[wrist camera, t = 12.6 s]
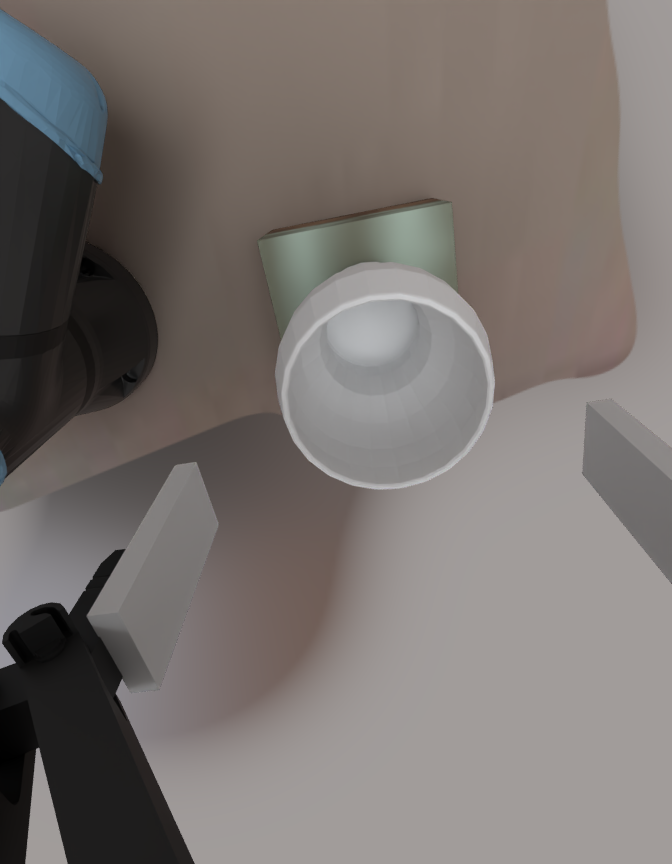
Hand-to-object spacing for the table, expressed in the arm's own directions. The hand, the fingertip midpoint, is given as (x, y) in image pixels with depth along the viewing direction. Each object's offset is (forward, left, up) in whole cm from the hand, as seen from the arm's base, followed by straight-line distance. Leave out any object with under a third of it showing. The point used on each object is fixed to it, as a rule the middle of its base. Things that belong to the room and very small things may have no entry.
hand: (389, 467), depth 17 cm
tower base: (0, 0, -29) cm, 29 cm away
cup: (0, 0, -21) cm, 21 cm away
